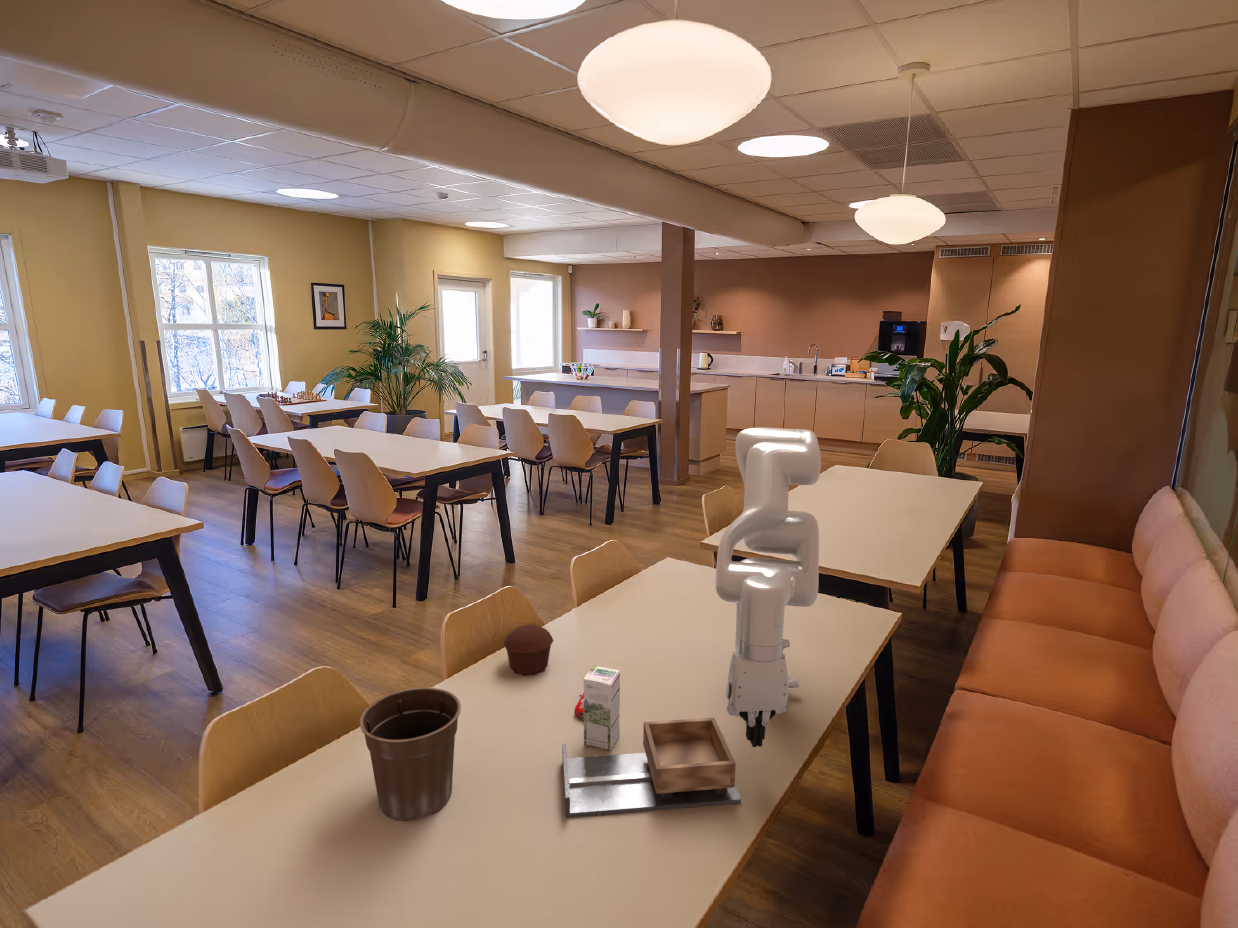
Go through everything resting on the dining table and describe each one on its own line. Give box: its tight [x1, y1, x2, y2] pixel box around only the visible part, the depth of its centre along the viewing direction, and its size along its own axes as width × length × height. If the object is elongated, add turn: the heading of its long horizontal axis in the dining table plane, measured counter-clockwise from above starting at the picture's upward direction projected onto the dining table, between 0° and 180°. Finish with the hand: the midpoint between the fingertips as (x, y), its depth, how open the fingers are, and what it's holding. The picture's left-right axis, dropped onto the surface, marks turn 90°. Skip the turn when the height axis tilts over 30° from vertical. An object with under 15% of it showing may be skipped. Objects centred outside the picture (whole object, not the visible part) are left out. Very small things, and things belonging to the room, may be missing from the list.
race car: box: [574, 692, 584, 721], centre depth 142 cm, size 13×5×4 cm, turn 162°
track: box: [561, 743, 742, 819], centre depth 117 cm, size 30×14×4 cm, turn 97°
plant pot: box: [359, 687, 462, 821], centre depth 112 cm, size 16×16×16 cm
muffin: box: [503, 623, 554, 677], centre depth 157 cm, size 12×11×10 cm
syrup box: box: [583, 665, 621, 752], centre depth 128 cm, size 6×6×14 cm
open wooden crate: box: [642, 717, 737, 800], centre depth 118 cm, size 14×14×7 cm
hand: (754, 742), depth 118 cm, fingers closed
